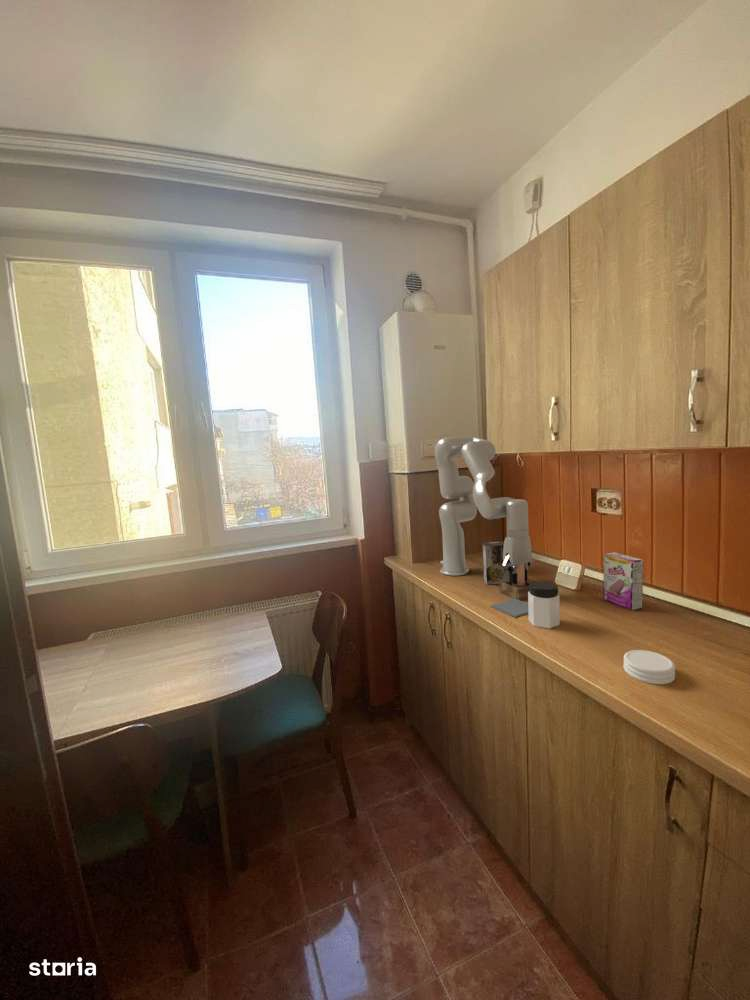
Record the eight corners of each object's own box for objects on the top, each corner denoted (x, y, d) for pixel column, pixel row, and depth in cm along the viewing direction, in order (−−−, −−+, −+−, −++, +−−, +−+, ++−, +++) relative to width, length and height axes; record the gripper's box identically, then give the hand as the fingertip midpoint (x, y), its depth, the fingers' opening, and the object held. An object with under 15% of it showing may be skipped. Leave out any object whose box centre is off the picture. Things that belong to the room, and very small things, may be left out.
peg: (509, 593, 150) (509, 559, 148) (518, 591, 152) (517, 557, 150) (518, 597, 146) (518, 562, 144) (527, 594, 148) (527, 560, 146)
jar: (563, 628, 119) (563, 589, 118) (535, 629, 120) (535, 590, 118) (551, 616, 128) (551, 579, 127) (525, 617, 129) (525, 581, 127)
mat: (490, 606, 139) (490, 605, 139) (514, 600, 143) (514, 598, 143) (514, 617, 129) (514, 615, 129) (539, 609, 133) (539, 608, 133)
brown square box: (499, 592, 151) (499, 582, 151) (518, 587, 155) (518, 577, 155) (518, 600, 143) (518, 589, 142) (538, 595, 147) (537, 584, 146)
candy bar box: (602, 599, 139) (602, 553, 137) (613, 597, 140) (613, 551, 138) (631, 611, 128) (632, 561, 126) (643, 608, 130) (644, 559, 128)
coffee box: (506, 579, 166) (505, 540, 164) (509, 584, 160) (508, 544, 158) (483, 579, 167) (482, 541, 165) (486, 584, 161) (484, 545, 159)
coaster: (644, 688, 89) (644, 673, 89) (614, 664, 99) (614, 651, 99) (686, 683, 90) (686, 668, 90) (652, 660, 100) (652, 647, 99)
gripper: (526, 528, 153) (527, 575, 155) (492, 535, 146) (493, 583, 148) (542, 531, 146) (543, 580, 149) (507, 538, 139) (508, 589, 141)
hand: (518, 581), depth 148 cm, fingers closed on peg, 4 cm apart
